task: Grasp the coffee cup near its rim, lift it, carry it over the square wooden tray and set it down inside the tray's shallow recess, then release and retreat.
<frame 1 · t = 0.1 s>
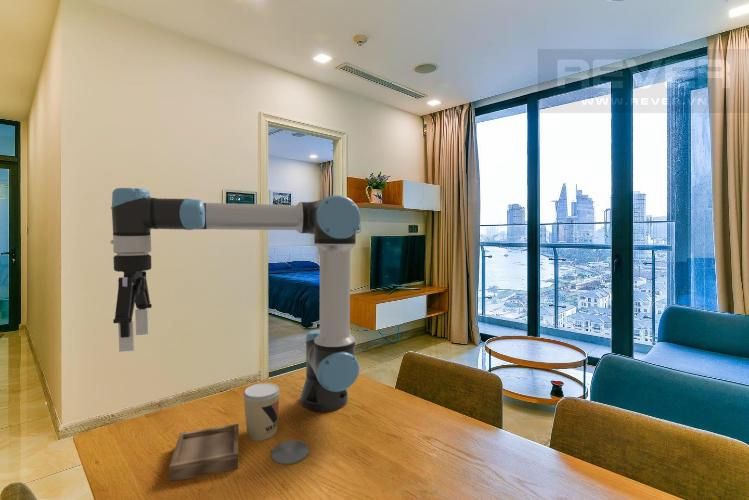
hand: (135, 342, 89), 28 cm above the table, fingers open, 13 cm apart
slate coaster: (289, 453, 91), on the table
square wooden tray: (207, 456, 89), on the table
coffee cup: (262, 433, 100), on the table
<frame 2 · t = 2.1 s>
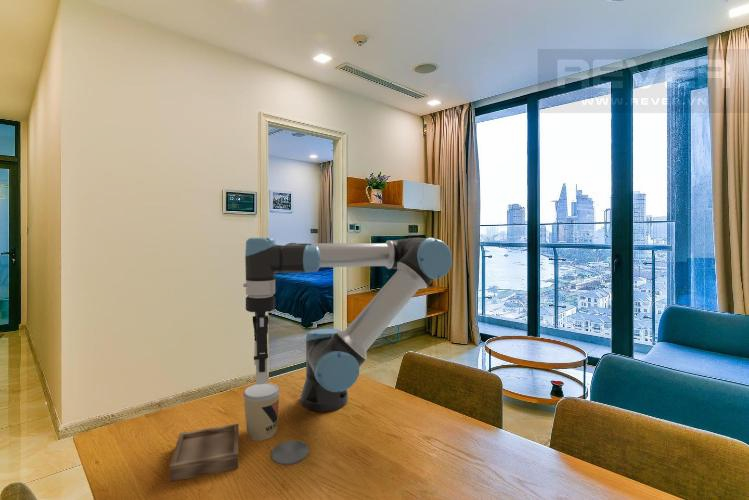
hand: (260, 373, 99), 16 cm above the table, fingers open, 13 cm apart
nothing on the table moved.
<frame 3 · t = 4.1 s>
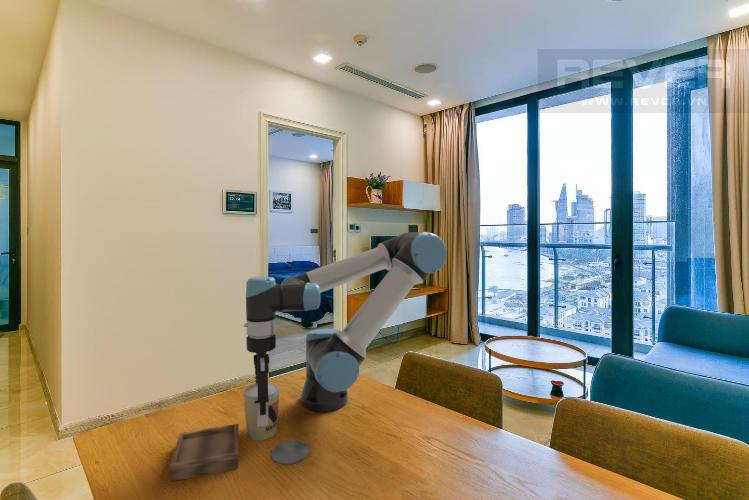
hand: (261, 416, 100), 5 cm above the table, fingers closed on coffee cup, 9 cm apart
coffee cup: (261, 433, 100), on the table, touching gripper
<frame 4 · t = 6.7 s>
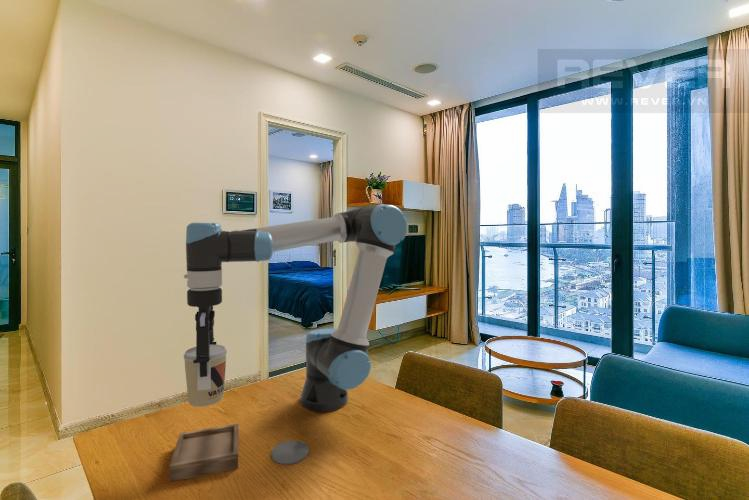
hand: (206, 380, 88), 19 cm above the table, fingers closed on coffee cup, 9 cm apart
coffee cup: (206, 399, 89), point 14 cm above the table, touching gripper
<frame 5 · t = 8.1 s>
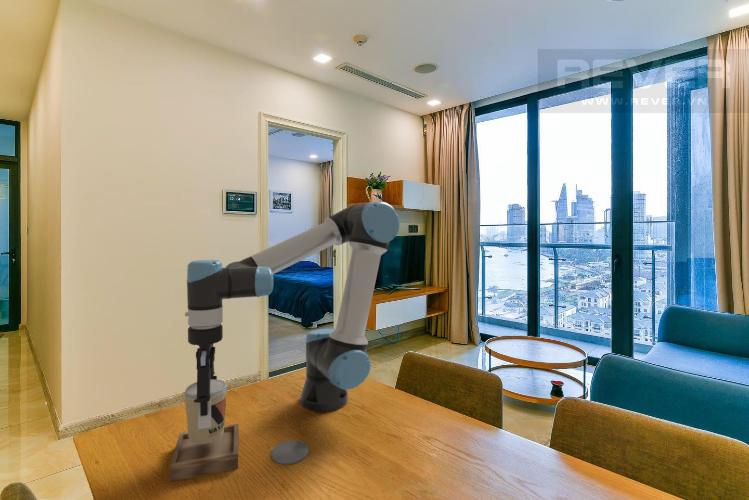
hand: (206, 416, 89), 10 cm above the table, fingers closed on coffee cup, 9 cm apart
coffee cup: (206, 436, 89), point 5 cm above the table, touching gripper
when the fingers open (8 cm above the table, at t = 9.4 s): coffee cup drops 1 cm, resting on square wooden tray.
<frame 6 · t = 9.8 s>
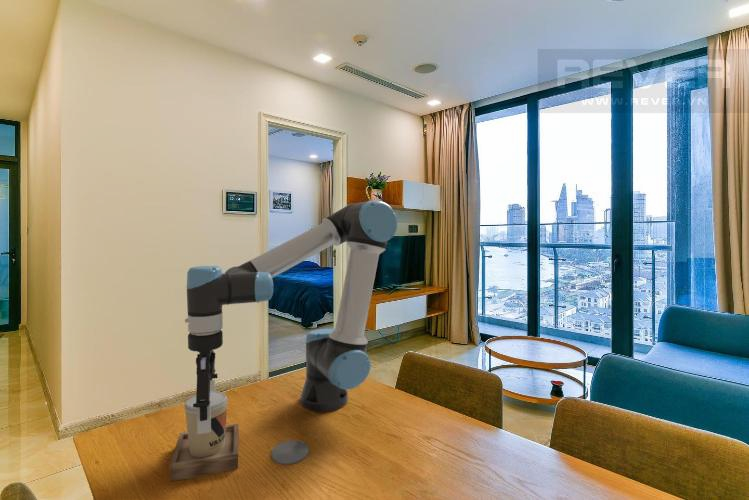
hand: (207, 418, 89), 10 cm above the table, fingers open, 13 cm apart
coffee cup: (207, 448, 89), point 2 cm above the table, touching square wooden tray
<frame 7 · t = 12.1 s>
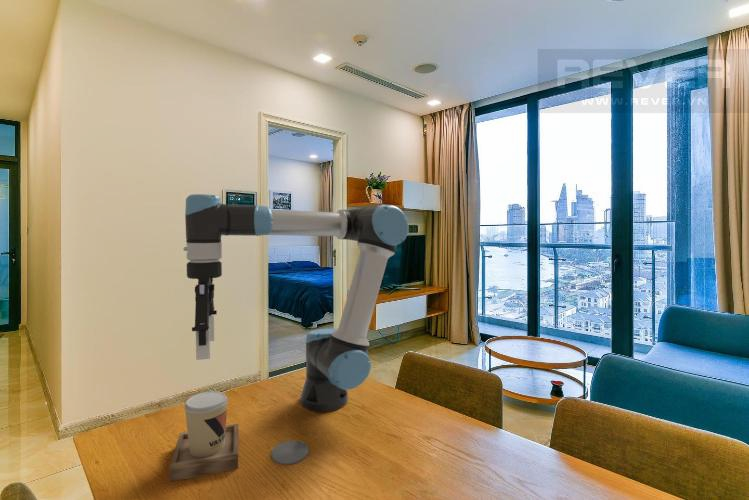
hand: (206, 349, 88), 27 cm above the table, fingers open, 13 cm apart
nothing on the table moved.
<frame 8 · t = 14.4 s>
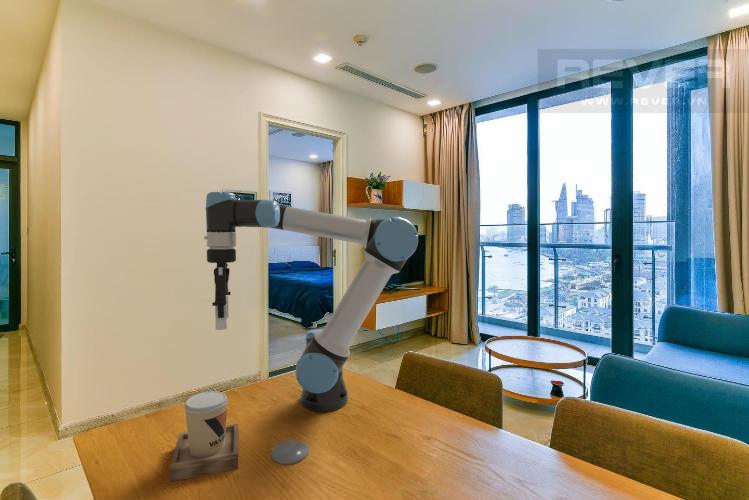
hand: (222, 323, 104), 29 cm above the table, fingers open, 13 cm apart
nothing on the table moved.
at the end: coffee cup inside the target area on the square wooden tray (0.3 cm from its centre), point 2.3 cm above the square wooden tray's base; coffee cup tilted 0°; coffee cup touching square wooden tray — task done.
